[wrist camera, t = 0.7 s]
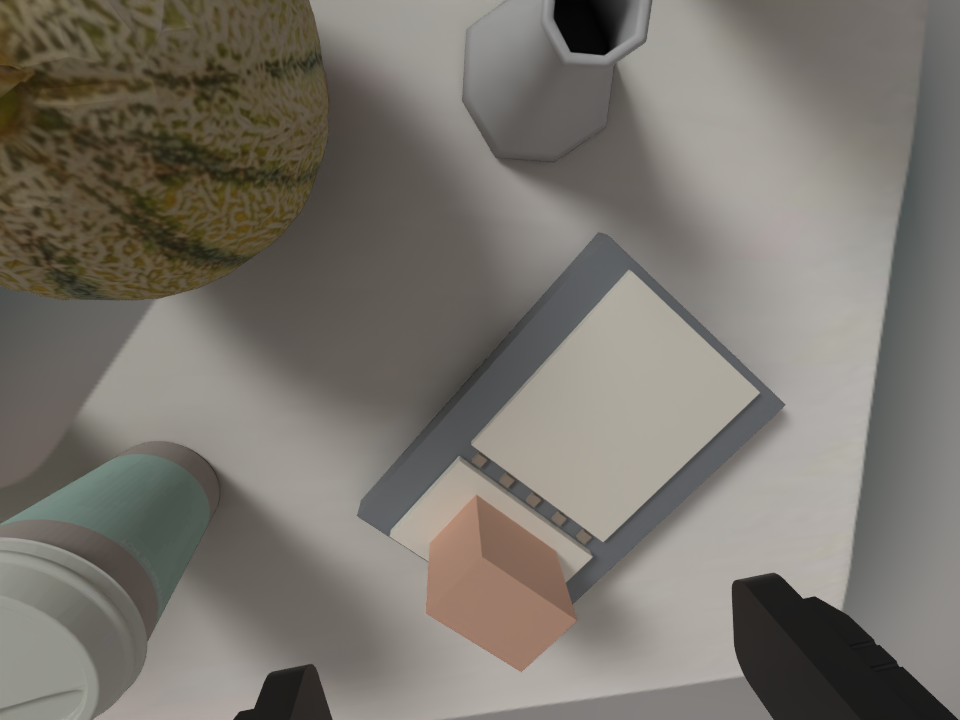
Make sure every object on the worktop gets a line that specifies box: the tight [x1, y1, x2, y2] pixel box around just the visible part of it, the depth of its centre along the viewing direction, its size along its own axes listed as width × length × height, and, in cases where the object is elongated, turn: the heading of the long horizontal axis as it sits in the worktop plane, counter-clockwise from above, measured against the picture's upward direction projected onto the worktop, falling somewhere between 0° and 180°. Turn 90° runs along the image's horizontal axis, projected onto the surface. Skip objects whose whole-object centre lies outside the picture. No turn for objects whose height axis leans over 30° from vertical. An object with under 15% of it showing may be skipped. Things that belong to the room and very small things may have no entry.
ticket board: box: [357, 233, 785, 604], centre depth 29 cm, size 20×14×2 cm
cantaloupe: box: [0, 0, 329, 300], centre depth 16 cm, size 15×15×15 cm
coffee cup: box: [0, 442, 220, 720], centre depth 23 cm, size 9×9×12 cm
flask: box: [462, 0, 652, 162], centre depth 19 cm, size 7×7×10 cm
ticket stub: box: [390, 456, 592, 672], centre depth 27 cm, size 6×10×6 cm, turn 50°
